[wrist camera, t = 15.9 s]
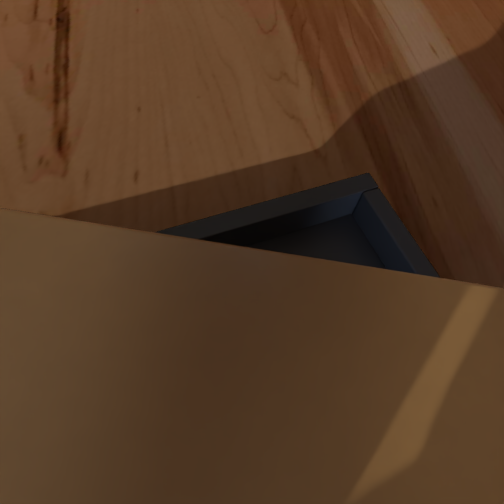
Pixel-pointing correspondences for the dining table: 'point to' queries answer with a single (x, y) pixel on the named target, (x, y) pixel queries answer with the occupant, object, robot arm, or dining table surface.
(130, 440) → the eraser
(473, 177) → the dining table surface
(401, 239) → the tray
